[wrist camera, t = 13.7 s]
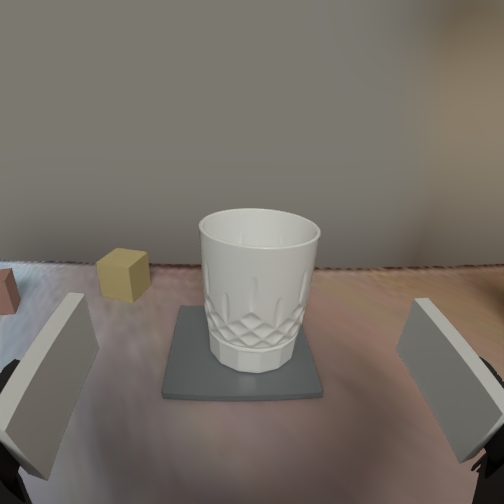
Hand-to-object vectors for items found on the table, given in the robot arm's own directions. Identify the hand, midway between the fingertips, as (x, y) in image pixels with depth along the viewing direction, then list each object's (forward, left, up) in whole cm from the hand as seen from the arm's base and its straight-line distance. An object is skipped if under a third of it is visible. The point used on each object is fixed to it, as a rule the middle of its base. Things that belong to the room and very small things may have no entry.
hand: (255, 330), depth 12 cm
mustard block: (-12, +19, -10) cm, 25 cm away
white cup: (+1, +10, -9) cm, 14 cm away
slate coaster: (0, +10, -10) cm, 14 cm away
